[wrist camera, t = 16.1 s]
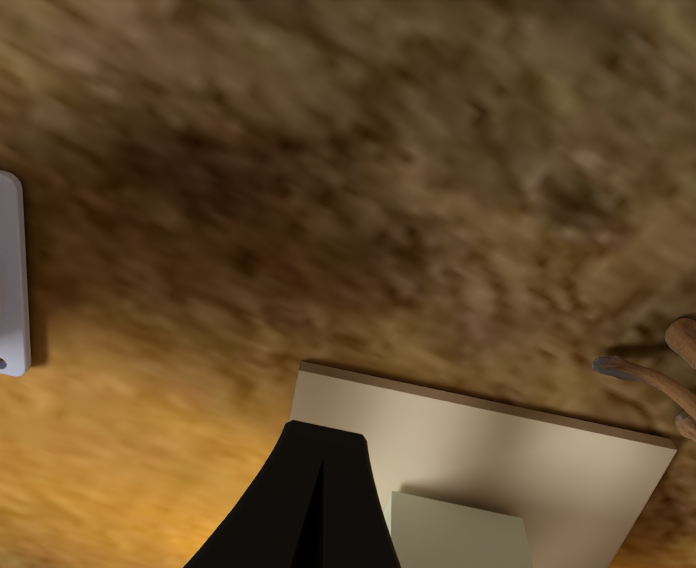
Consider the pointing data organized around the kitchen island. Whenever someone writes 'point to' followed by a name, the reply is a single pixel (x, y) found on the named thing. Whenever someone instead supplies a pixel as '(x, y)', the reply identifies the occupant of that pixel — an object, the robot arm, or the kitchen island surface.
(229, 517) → the robot arm
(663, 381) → the lion figurine
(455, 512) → the pale green matte block
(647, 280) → the kitchen island surface
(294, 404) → the flat beige square board
